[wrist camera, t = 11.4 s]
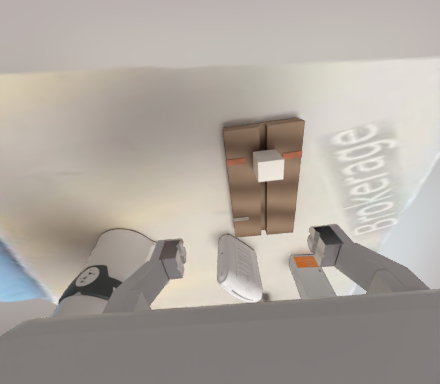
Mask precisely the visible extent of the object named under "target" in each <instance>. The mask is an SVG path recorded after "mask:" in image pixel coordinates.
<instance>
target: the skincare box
mask: <svg viewBox="0 0 440 384" xmlns="http://www.w3.org/2000/svg"><path fill="white" fill-rule="evenodd" d="M314 257H315V255H291V258H290V263H289V267H290V270H291V273H292V275H293V278H294V281H295V284H296V286H297V289H298V292H299V294H300V297H301V299H308V298H321V297H335V296H337V295H336V294H335V292H334V290H333V288H332V286H331V284H330V282H329V281H328V279H327V277H326V275H325V273H324V271H323V269H322V268H321V267H320V266H319V265H318V263H317V261H316V259H315V258H314Z"/></svg>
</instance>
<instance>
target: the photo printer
mask: <svg viewBox="0 0 440 384" xmlns="http://www.w3.org/2000/svg"><path fill="white" fill-rule="evenodd" d="M217 281H218V283H219V285H220V286H221V287H222V288H223V289H224V290H226V291H227V292H228V293H229V294H231V295H232V296H234V297H236V298H238V299H240V300H243V301H246V302H252V303H253V302H257V301H259V300H260V299H261V297H262V294H263V288H262V283H261V278H260V273H259V267H258V262H257V257H256V253H255V251H254V250H252V249H251V248H250V247H248V246H247V245H245V244H244V243H242V242H241V241H239V240H238V239H236V238H234V237H233V236H231V235H223V236H222V237H221V238H220V240H219V242H218V259H217Z"/></svg>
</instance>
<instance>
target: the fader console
mask: <svg viewBox="0 0 440 384" xmlns="http://www.w3.org/2000/svg"><path fill="white" fill-rule="evenodd" d="M304 125H305V121H304V120H302V119H299V118H291V119H284V120H276V121H269V122H262V123H254V124H247V125H240V126H232V127H225V128H223V135H224V143H225V152H226V160H227V169H228V177H229V186H230V194H231V202H232V211H233V220H234V228H235V236H236V237H246V236H257V235H261V230H266V233H267V235H268V234H279V233H291V232H293V229H294V219H295V210H296V200H297V191H298V181H299V172H300V163H301V157H302V144H303V134H304ZM272 149H276V150H277V151H278V153H279V154H280V155H281V156H282V157H283V158H284V175H283V179H282V180H273V181H264V182H258V180H257V177H256V175H255V172H254V169H253V152H256V151H260V150H272Z"/></svg>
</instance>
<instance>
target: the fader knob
mask: <svg viewBox="0 0 440 384" xmlns="http://www.w3.org/2000/svg"><path fill="white" fill-rule="evenodd" d="M253 169H254V172H255V175H256V177H257V180H258V182H264V181H273V180H282V179H283V175H284V158H283V157H282V156H281V155H280V154H279V153H278V151H277V150H276V149H272V150H260V151H256V152H253Z"/></svg>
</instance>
